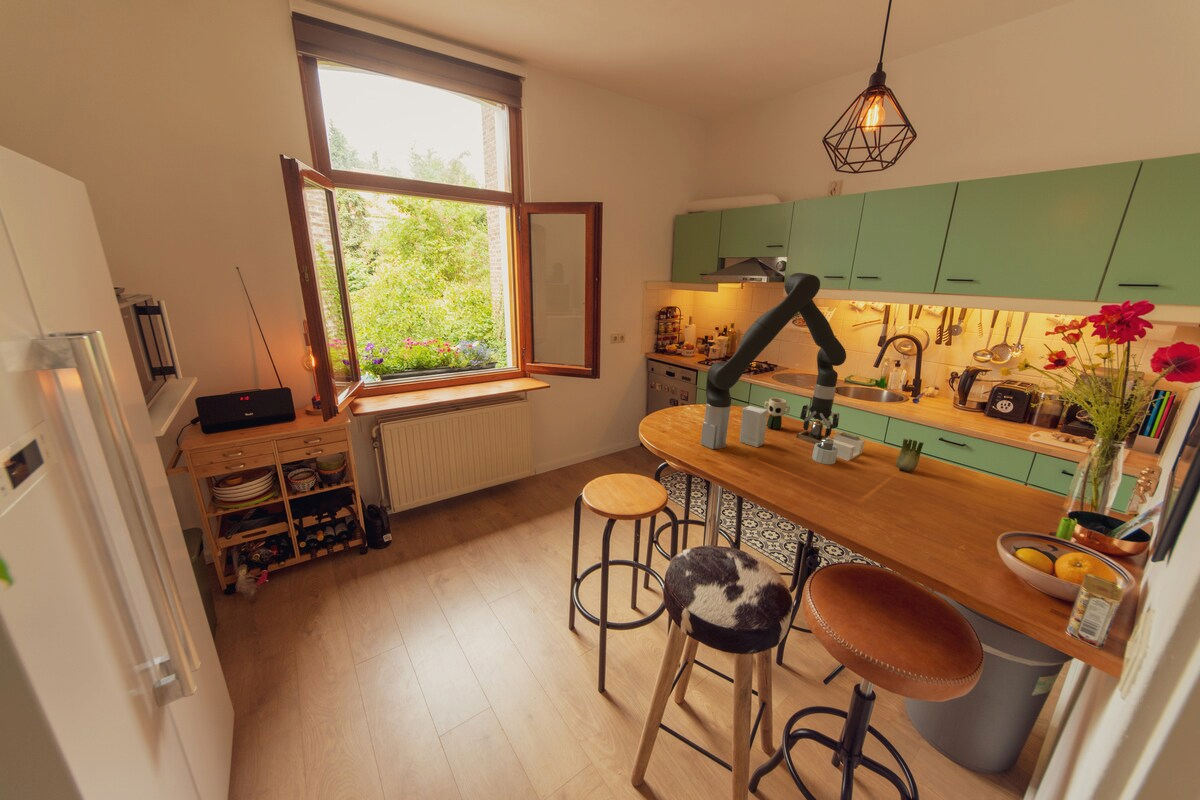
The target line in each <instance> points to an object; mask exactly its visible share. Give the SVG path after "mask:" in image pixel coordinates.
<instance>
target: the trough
mask: <svg viewBox="0 0 1200 800" xmlns="http://www.w3.org/2000/svg"><path fill="white" fill-rule="evenodd" d="M810 434H811V430H803V431H800V432H798V433H797V434H796V439H799V440H802V441H805V442H808V443H810V444H814V445H815V444H816V443H821V440H822V438H831V439H833V438H832V437H829V436H828V437H825V435H823V434H821V439H820V441H819V440H816V439H813V438H810Z"/></svg>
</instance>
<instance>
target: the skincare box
mask: <svg viewBox="0 0 1200 800" xmlns="http://www.w3.org/2000/svg"><path fill="white" fill-rule="evenodd" d="M767 421H768V409H765V408H762V407H757V406H753V405H748V406H746V407H743V408H742V414H741V423H740V432H739V433H740V434H739V443H743V444H745V445H749V446H751V447H755V448H759V447H761V446H763V445H764V444H765V438H766V431H767V430H766V429H767V426H766V425H767Z"/></svg>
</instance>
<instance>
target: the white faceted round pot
mask: <svg viewBox="0 0 1200 800" xmlns="http://www.w3.org/2000/svg"><path fill="white" fill-rule="evenodd" d="M820 444H821V443H816V444H814V446H813V447H814V448H813V451H812V455H811V456H812V457H811V458H812V460H813V461H815V462H816V463H820V464H823V465H834V464H835V463H836V460H837V458H838V457H837V452H838V448H837V447H835V446H834V445H833V447H832V450H830V451H829V450H824V449H821V448H820Z"/></svg>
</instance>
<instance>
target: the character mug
mask: <svg viewBox="0 0 1200 800" xmlns="http://www.w3.org/2000/svg"><path fill="white" fill-rule="evenodd" d="M787 402H788V401H787V400H786V399H783V398H781V397H780V398H779V397H770V398H769V400H768V401H764V406H763V409H766V410H768V412H767V414H769V415H768V417H767V422H766V428H769V429H771V427H772V429H773V430H780V429H781V428H782V424H783V423H782V422H783V421H782V419H783V418H782V416H784V415H785V414H790V412H791V411H790V410H791V406H788V405H787ZM767 405H768V406H767Z"/></svg>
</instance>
